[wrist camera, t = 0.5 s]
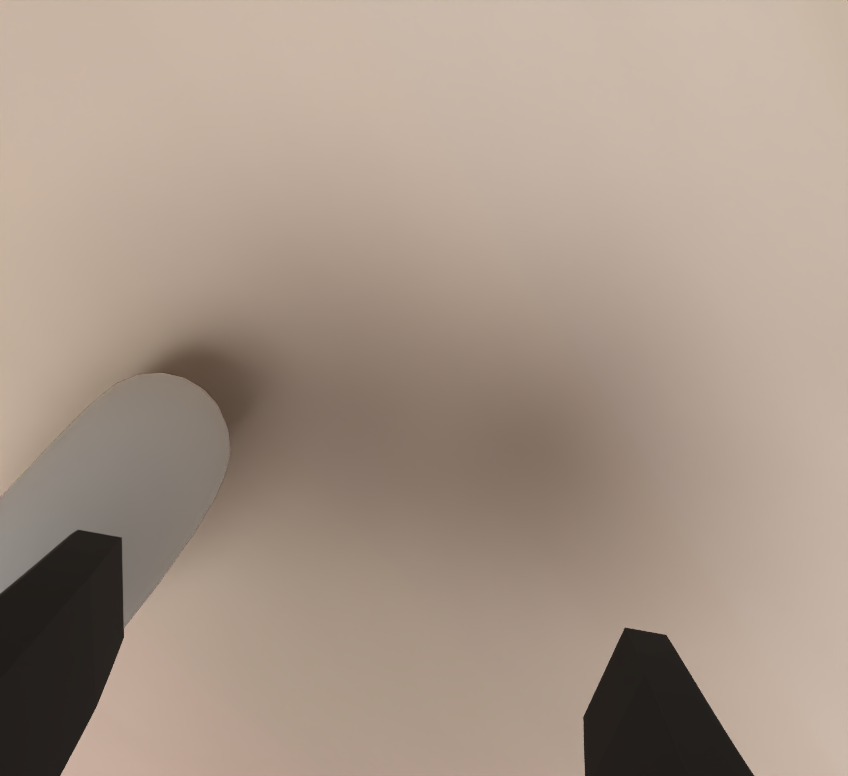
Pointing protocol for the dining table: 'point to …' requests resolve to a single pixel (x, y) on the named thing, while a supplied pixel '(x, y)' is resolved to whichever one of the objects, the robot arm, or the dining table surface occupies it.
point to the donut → (122, 481)
